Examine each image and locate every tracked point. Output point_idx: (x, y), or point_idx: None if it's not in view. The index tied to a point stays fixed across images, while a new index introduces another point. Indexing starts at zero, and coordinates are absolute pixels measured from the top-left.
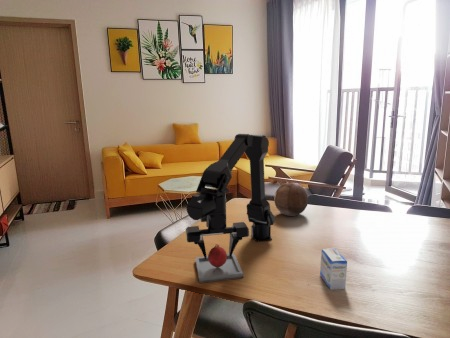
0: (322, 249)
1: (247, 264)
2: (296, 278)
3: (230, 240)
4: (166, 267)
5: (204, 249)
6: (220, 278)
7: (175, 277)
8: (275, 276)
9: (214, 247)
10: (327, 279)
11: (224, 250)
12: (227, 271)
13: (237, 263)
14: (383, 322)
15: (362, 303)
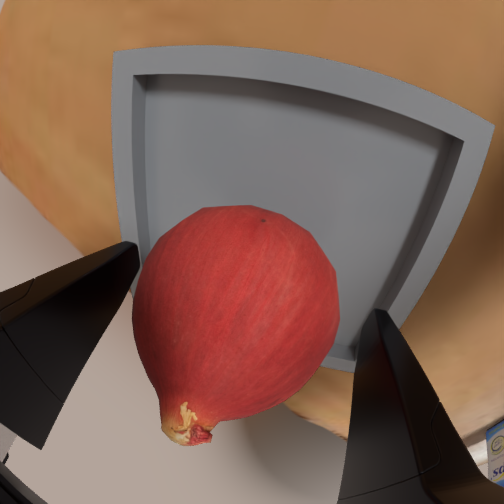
0: None
1: (482, 260)
2: (494, 397)
3: (387, 489)
4: (22, 103)
5: (71, 376)
6: None
7: (56, 204)
8: (470, 379)
9: (158, 395)
10: (499, 437)
11: (296, 389)
12: None
13: (414, 291)
14: None
15: (472, 450)
